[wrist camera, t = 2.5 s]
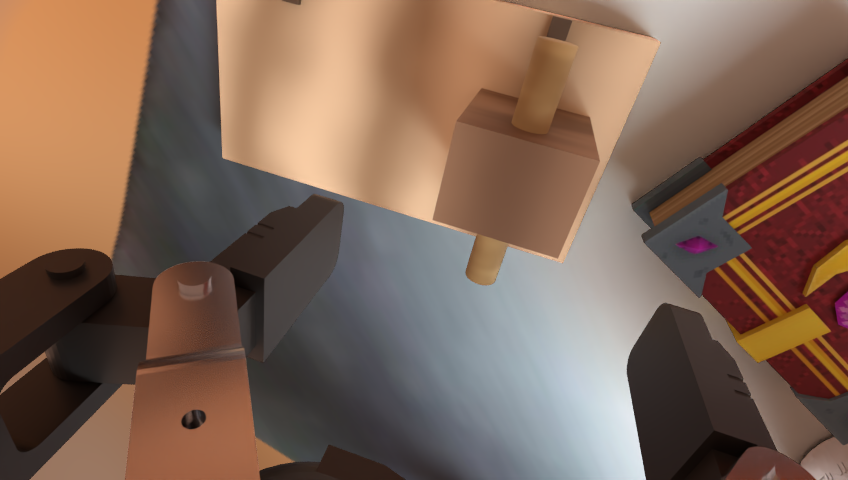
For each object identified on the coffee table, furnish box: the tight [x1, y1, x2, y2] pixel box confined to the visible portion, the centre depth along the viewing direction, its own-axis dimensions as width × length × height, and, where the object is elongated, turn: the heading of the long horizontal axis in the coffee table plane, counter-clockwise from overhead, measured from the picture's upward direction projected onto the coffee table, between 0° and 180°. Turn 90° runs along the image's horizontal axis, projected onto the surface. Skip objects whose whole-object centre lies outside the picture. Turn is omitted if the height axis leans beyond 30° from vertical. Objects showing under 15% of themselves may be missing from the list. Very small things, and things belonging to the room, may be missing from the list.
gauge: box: [432, 36, 600, 285], centre depth 19 cm, size 5×10×6 cm, turn 169°
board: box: [216, 0, 661, 263], centre depth 23 cm, size 20×11×2 cm, turn 79°
